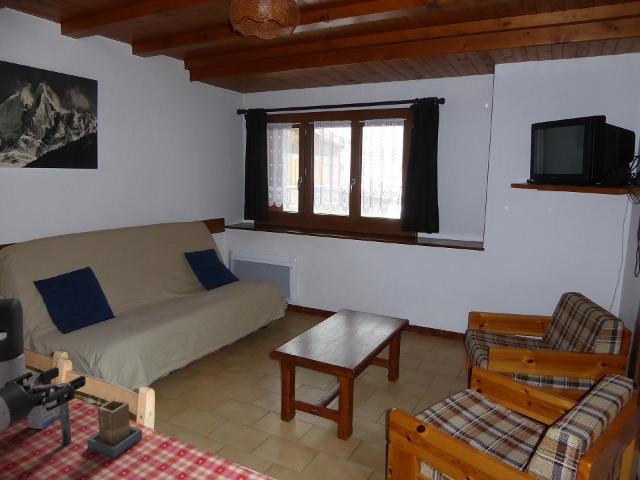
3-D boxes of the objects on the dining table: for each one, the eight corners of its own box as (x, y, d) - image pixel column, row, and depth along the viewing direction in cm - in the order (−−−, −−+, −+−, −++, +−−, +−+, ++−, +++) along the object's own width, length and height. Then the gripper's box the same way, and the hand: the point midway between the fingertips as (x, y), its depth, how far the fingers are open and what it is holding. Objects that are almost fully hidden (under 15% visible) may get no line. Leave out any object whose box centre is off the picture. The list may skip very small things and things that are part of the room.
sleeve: (99, 444, 114) (97, 407, 112) (115, 433, 118) (114, 398, 117) (114, 449, 112) (112, 412, 110) (130, 438, 116) (128, 403, 115)
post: (61, 442, 115) (57, 384, 112) (70, 439, 116) (66, 382, 114) (63, 446, 114) (58, 387, 111) (71, 443, 115) (68, 385, 112)
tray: (87, 448, 113) (87, 439, 113) (116, 429, 121) (116, 421, 121) (114, 458, 110) (113, 449, 109) (142, 438, 118) (141, 430, 117)
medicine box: (42, 430, 120) (39, 400, 118) (27, 427, 121) (25, 398, 119) (64, 414, 128) (62, 386, 126) (50, 412, 128) (48, 384, 127)
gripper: (18, 403, 83) (93, 366, 98) (-30, 385, 89) (47, 353, 103) (21, 439, 85) (94, 398, 99) (-26, 419, 90) (50, 383, 105)
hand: (70, 375), depth 101 cm, fingers open, 8 cm apart
